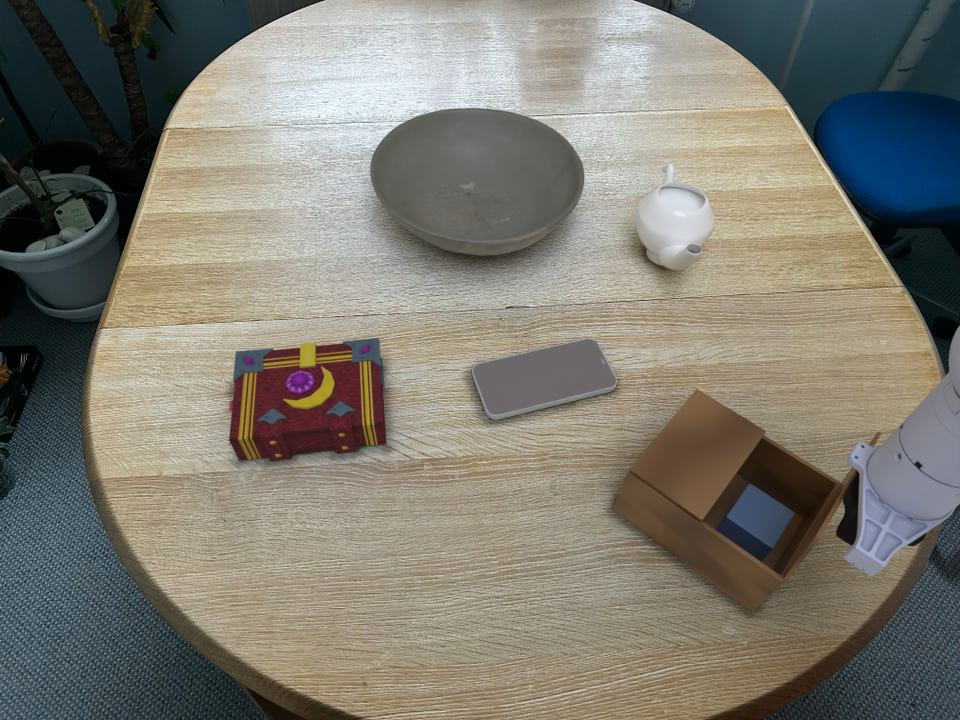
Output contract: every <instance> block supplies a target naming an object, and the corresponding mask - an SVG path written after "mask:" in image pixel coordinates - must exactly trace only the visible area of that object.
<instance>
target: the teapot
mask: <svg viewBox="0 0 960 720" xmlns="http://www.w3.org/2000/svg"><path fill="white" fill-rule="evenodd" d="M660 170H661V172H662V173H665V174H664V176H663V180H662V183H661V184H660V185H658V186H657V187H655V188H654V189H652V190H651V191H649V192H648V193H647V194H646V195H644V197H643V198H642V199H640V201H639V203H638V205H637V208H636V210H635V217H634V220H635V221H634V223H635V230H636V233H637V236H638V238H639V240H640V242H641V244H642V245H643V246H644V247H645V249H646V256H647V258H648V259H649V260H650V261H651V262H652V263H654V264H656V265H658V266H662V267H664V268H666V269H668V270H671V271H683V270H686V269H689V268H691V267H692V266H693V265H694V264H695V263H696V262H697V260H698V258H700V257H701V254H702V253H703V252H702V251H703V249H702V247H703V246H704V245H705V244H706V243H707V242H708V240H709V239H710V237H711V236H712V234H713V232H714V229H715V225H716V215H715V212H714V209H713V207H712V203H711V202H710V199H709V197H708V196H707V195H706V193H705V192H704V191H703V190H701V189H700V188H699V187H697V186H695V185H693V184H691V183H687V182H682V181H674V177H675V165H674V164H673V163H670V162H669V163H667V164H666V165H665V166H663V167H661V169H660Z"/></svg>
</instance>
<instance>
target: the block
mask: <svg viewBox="0 0 960 720" xmlns="http://www.w3.org/2000/svg"><path fill="white" fill-rule="evenodd" d="M794 514H795V512H793V511H791V510H790V509H788V508H787V507H785V506H784V505H782V504H781V503H779V502H778V501H776V500H775V499H773V498H772V497H770V496H769V495H767V494H766V493H764V492H762V491H761V490H759V489H758V488H756V487H755V486H753V485H752V484H750V483H749V484H748V486H747V487H746V489H745V490H744V491H743V493H742V494H741V496H740V497H739V499H738V500H737V501H736V503H735V504H734V506H733V507H732V509H731V510H730V512H729V513H728V514H727V516H726V517H725V519H724V520H723V522H722V523H721V524H720V526H719V527H718V529H717V530H716V531H718V532H719V533H721V534H722V535H724V536H725V537H726V538H728V539H729V540H731V541H732V542H734V543H735V544H736V545H738V546H739V547H741V548H742V549H744V550H745V551H746V552H748V553H749V554H751V555H752V556H754V557H755V558H756V559H758V560H759V561H762V560H763V559H764V558H765V557H766V556H767V555H768V554H769V552H770V551H771V550H772V549H773V548H774V546H775V545H776V543H777V541H778V540H779V538H780V537H781V535H782V533H783V532H784V530H785V529H786V527H787V526H788V524H789V522H790V521H791V519H792V518H793V516H794Z"/></svg>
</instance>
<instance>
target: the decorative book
mask: <svg viewBox="0 0 960 720" xmlns="http://www.w3.org/2000/svg"><path fill="white" fill-rule="evenodd" d="M234 357H235V358H234V365H233V378H232V379H233V380H232V381H233V383H234V386H233V397H232V400H230V401H229V406H228V407H229V408H228V413H230V412H231V417H230V426H229V438H228V441H229V444H228V446H229V447H232V449H233V451H234V453H235V455H236V457H237V459H238V461H248V460H257V459H265V458H269V460H270V462H274V461H283V460H292V456H293V455H299V454H301V455H302V454H309V453H310V454H311V453H318V452H327V451H335V452H336V454H344V453H352V452H353V453H354V452H358V448H361V447H370V446H379V445H381V446H382V445H387V431H386V417H385V404H384V403H385V401H384V389H385V381H384V380H385V379H384V364H383V363H384V362H383V357H381V343H380V337H371V338H362V339H352V340H343V341H342V343H331V344H324V345H323V344H322V345H317V343H316V342H315V341H314V342H304V343H303V342H301V343H299V347H291V348H281V349H280V348H279V349H274V348H272V347H271V348H260V349H248V350H236V351H235V355H234Z"/></svg>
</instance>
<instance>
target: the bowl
mask: <svg viewBox="0 0 960 720" xmlns="http://www.w3.org/2000/svg"><path fill="white" fill-rule="evenodd" d="M369 166H370V167H369V174H370V175H369V176H370V181H371V185H372V188H373V191H374V193H375V195H376V197H377V199H378V201H379V202H380V203H381V205H382V206H383V208H384V209H385V210H386V212H387V213H388V214H389V215H390V216H391V218H392V219H393V220H394V221H396V222H397V223H398V224H399V225H400V226H401V227H403V228H404V229H406V230H407V231H409V232H410V233H411V234H413V235H415V236H416V237H418V238H420V239H421V240H423V241H425V242H427V243H428V244H431V245H433V246H435V247H437V248H440V249H442V250H445V251H449V252H453V253H458V254H464V255H472V256H481V257H482V256H498V255H499V256H500V255H504V254H505V255H506V254H509V253H512V252H516V251H520V250H522V249H525V248H528V247H530V246H532V245H533V244H536V243H537V242H539V241H540V240H542V239H543V238H545V237H547V235H549V234H550V233H552V232H553V231H555V230H556V229H557V228H558V227H559V226H560V225H561V224H562V223H563V222H565V221H566V220H567V218H568V217H569V216H570V215H571V213H572V212H573V211H574V210H575V208H576V206H577V205H578V204H579V201H580V199H581V197H582V194H583V191H584V187H585V169H584V165H583V162H582V160H581V158H580V156H579V154H578V153H577V151H576V150H575V148H574V146H573V145H572V144H571V143H570V142H569V141H568V139H567V138H566V137H564V136H563V134H562V133H560V132H558V131H557V130H555V128H552V127H551V126H550V125H547V124H546V123H544V122H542V121H540V120H538V119H536V118H532V117H529V116H526V115H523V114H520V113H517V112H512V111H507V110H501V109H496V108H495V109H494V108H481V107H464V108H463V107H457V108H446V109H445V108H444V109H439V110H434V111H431V112H426V113H424V114H420V115H418V116H415V117H412V118H410V119H408V120H406V121H403V122H402V123H400V124H398V125H397V126H395V127H394V128H392V130H391V131H389V132H388V133H387V134H386V135H385V136H384V137H383V138H382V139H381V141H379V144H378V145H377V146H376V148H375V150H374V152H373V153H372V156H371V161H370V165H369Z"/></svg>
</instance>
